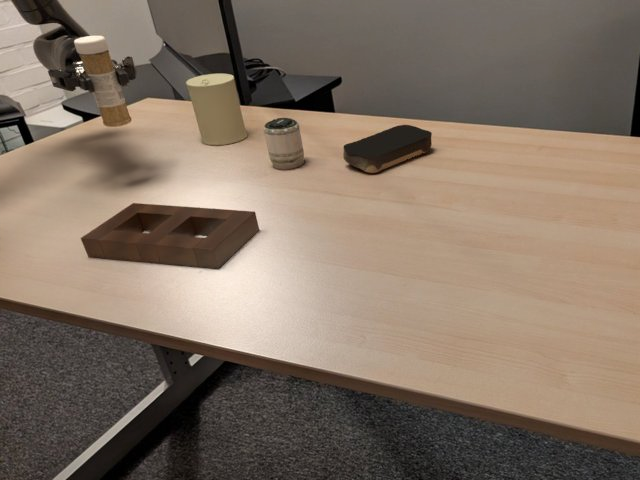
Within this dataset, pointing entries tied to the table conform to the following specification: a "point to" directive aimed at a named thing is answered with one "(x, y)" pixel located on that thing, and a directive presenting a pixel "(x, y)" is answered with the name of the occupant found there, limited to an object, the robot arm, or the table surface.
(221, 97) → the can
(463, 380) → the table surface
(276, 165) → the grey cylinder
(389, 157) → the black sponge
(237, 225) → the socket block
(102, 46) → the sprinkles bottle
